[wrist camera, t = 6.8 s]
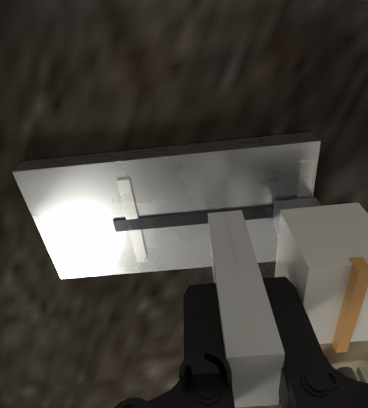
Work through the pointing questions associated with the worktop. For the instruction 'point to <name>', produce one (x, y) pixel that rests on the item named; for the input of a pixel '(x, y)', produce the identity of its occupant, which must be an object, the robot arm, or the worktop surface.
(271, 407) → the coffee box
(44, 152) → the worktop surface
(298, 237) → the fader cap
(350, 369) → the door
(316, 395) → the robot arm
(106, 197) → the fader console
